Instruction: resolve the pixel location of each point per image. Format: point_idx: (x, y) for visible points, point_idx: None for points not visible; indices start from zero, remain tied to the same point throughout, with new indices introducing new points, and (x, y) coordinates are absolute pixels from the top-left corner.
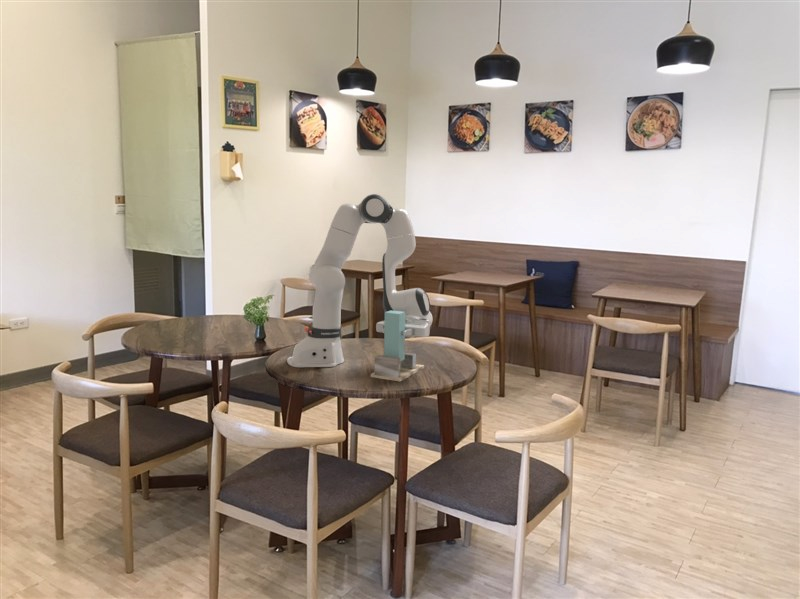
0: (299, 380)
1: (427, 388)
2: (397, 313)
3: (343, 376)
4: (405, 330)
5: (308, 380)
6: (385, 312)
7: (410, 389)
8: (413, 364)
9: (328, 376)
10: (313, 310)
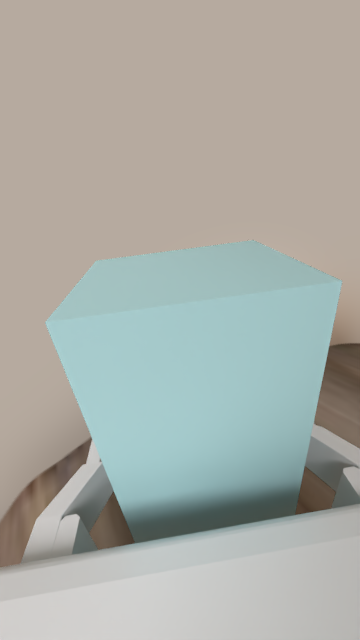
0: (343, 349)
1: (31, 490)
2: (121, 260)
3: (324, 425)
4: (97, 455)
5: (333, 358)
6: (247, 241)
7: (85, 447)
8: None
9: (347, 400)
10: None
